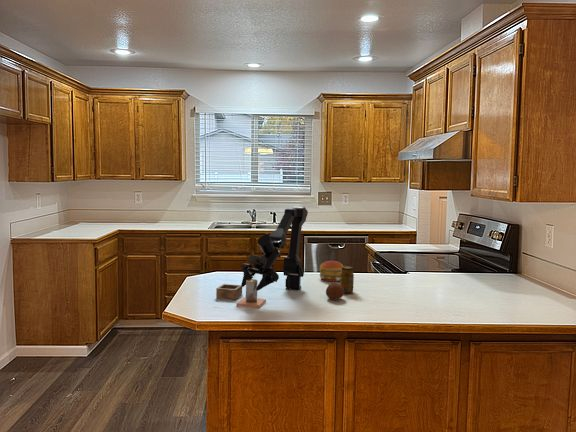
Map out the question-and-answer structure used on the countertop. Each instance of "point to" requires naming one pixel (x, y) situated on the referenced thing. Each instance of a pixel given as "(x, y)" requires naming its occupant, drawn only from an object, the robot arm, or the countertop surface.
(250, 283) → the silver and gold cylinder
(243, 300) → the terracotta tile
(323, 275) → the burger
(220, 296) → the socket block
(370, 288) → the countertop surface
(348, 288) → the condiment
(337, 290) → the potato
